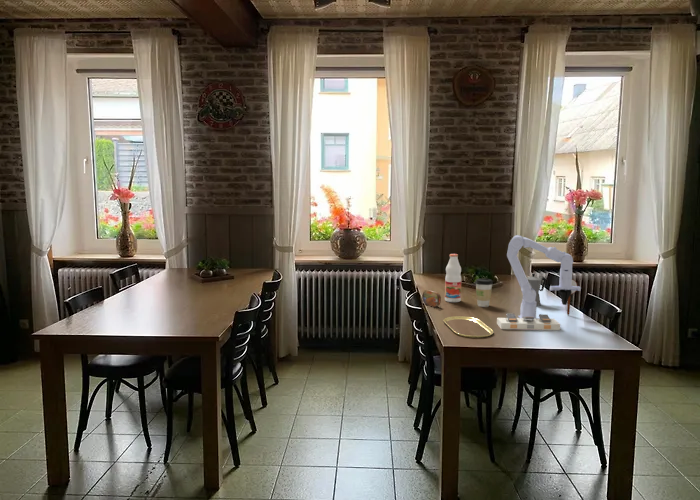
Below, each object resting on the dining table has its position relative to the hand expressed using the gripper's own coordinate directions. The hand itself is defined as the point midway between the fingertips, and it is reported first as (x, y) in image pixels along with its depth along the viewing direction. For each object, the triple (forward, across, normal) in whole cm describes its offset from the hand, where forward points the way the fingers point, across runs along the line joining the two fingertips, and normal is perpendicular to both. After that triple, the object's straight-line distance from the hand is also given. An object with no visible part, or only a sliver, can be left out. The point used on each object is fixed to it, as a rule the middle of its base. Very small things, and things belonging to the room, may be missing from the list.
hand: (564, 304), depth 270 cm
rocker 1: (+5, -28, -9) cm, 30 cm away
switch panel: (+9, -20, -9) cm, 24 cm away
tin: (+10, -64, +33) cm, 72 cm away
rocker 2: (+5, -20, -9) cm, 22 cm away
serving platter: (+10, -50, -12) cm, 52 cm away
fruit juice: (+10, -50, +45) cm, 68 cm away
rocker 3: (+5, -12, -9) cm, 16 cm away
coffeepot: (+10, -4, +40) cm, 41 cm away
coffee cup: (+10, -34, +34) cm, 49 cm away
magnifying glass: (+10, +7, +14) cm, 18 cm away
